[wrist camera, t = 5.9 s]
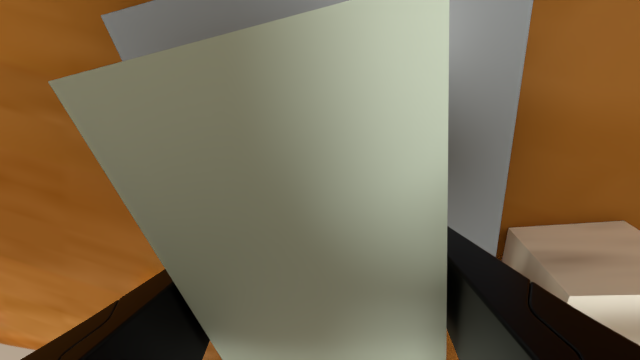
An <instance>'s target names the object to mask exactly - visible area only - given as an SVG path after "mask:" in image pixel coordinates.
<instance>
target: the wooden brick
mask: <svg viewBox="0 0 640 360" xmlns="http://www.w3.org/2000/svg"><path fill="white" fill-rule="evenodd" d="M48 82H49V84H50V86H51V87H52V89H53V90H54V92H55V94H56V95H57V97H58V98H59V100H60V102H61V103H62V105H63V106H64V108H65V110H66V111H67V113H68V114H69V116H70V117H71V119H72V121H73V122H74V124H75V125H76V127H77V129H78V130H79V132H80V133H81V135H82V137H83V138H84V140H85V141H86V143H87V145H88V146H89V148H90V149H91V151H92V153H93V154H94V156H95V157H96V159H97V161H98V162H99V164H100V165H101V167H102V168H103V170H104V172H105V173H106V175H107V176H108V178H109V180H110V181H111V183H112V184H113V186H114V188H115V189H116V191H117V192H118V194H119V196H120V197H121V199H122V200H123V202H124V204H125V205H126V207H127V208H128V210H129V212H130V213H131V215H132V216H133V218H134V220H135V221H136V223H137V224H138V226H139V227H140V229H141V231H142V232H143V234H144V235H145V237H146V239H147V240H148V242H149V243H150V245H151V247H152V248H153V250H154V251H155V253H156V255H157V256H158V258H159V259H160V261H161V263H162V264H163V266H164V267H165V269H166V271H167V272H168V274H169V275H170V277H171V278H172V280H173V282H174V283H175V285H176V286H177V288H178V290H179V291H180V293H181V294H182V296H183V298H184V299H185V301H186V302H187V304H188V306H189V307H190V309H191V310H192V312H193V314H194V315H195V317H196V318H197V320H198V322H199V323H200V325H201V326H202V328H203V330H204V331H205V333H206V334H207V336H208V337H209V339H210V341H211V342H212V344H213V345H214V347H215V349H216V350H217V352H218V353H219V355H220V357H221V358H222V360H446V320H447V211H448V103H449V0H349V1H345V2H341V3H338V4H334V5H330V6H327V7H323V8H319V9H316V10H312V11H308V12H304V13H301V14H297V15H293V16H290V17H286V18H282V19H278V20H275V21H271V22H267V23H264V24H260V25H256V26H252V27H249V28H245V29H241V30H238V31H234V32H230V33H226V34H223V35H219V36H215V37H212V38H208V39H204V40H201V41H197V42H193V43H189V44H186V45H182V46H178V47H175V48H171V49H167V50H163V51H160V52H156V53H152V54H149V55H145V56H141V57H137V58H134V59H130V60H126V61H123V62H119V63H115V64H111V65H108V66H104V67H100V68H97V69H93V70H89V71H85V72H82V73H78V74H74V75H71V76H67V77H63V78H60V79H56V80H52V81H48Z"/></svg>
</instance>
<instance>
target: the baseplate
mask: <svg viewBox="0 0 640 360" xmlns="http://www.w3.org/2000/svg"><path fill="white" fill-rule="evenodd" d="M345 1H349V0H154V1H150V2H147V3H143V4H140V5H136V6H133V7H129V8H126V9H122V10H119V11H115V12H112V13H108V14H104V15H101V17H102V19H103V22H104V24H105V26H106V28H107V30H108V32H109V34H110V36H111V38H112V40H113V42H114V45H115V47H116V49H117V51H118V53H119V55H120V57H121V59H122V61H126V60H130V59H134V58H137V57H141V56H145V55H149V54H152V53H156V52H160V51H163V50H167V49H171V48H175V47H178V46H182V45H186V44H189V43H193V42H197V41H201V40H204V39H208V38H212V37H215V36H219V35H223V34H226V33H230V32H234V31H238V30H241V29H245V28H249V27H252V26H256V25H260V24H264V23H267V22H271V21H275V20H278V19H282V18H286V17H290V16H293V15H297V14H301V13H304V12H308V11H312V10H316V9H319V8H323V7H327V6H330V5H334V4H338V3H341V2H345ZM532 5H533V0H449V103H448V211H447V226H449V227H450V228H452V229H453V230H455V231H456V232H458V233H459V234H461V235H462V236H464V237H465V238H467V239H468V240H470V241H472V242H473V243H475V244H476V245H478V246H479V247H481V248H482V249H484V250H485V251H487V252H488V253H490V254H491V255H493V256H495V257H496V252H497V245H498V238H499V231H500V224H501V217H502V210H503V204H504V197H505V190H506V183H507V176H508V169H509V163H510V156H511V149H512V142H513V135H514V128H515V121H516V115H517V108H518V101H519V94H520V87H521V80H522V74H523V67H524V60H525V53H526V46H527V39H528V32H529V26H530V19H531V12H532Z"/></svg>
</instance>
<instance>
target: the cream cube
mask: <svg viewBox="0 0 640 360" xmlns="http://www.w3.org/2000/svg"><path fill="white" fill-rule="evenodd" d="M502 262H504V263H505V264H507V265H508V266H510V267H511V268H513V269H514V270H516V271H518V272H519V273H521V274H522V275H524V276H525V277H527V278H528V279H530V281H531V282H535V283H536V284H538V285H539V286H541V287H542V288H544V289H545V290H547V291H548V292H550V293H552V294H553V295H555V296H556V297H558V298H560V299H561V300H563V301H564V302H566V303H568V304H569V305H571V306H572V307H574V308H576V309H577V310H579V311H581V312H582V313H584V314H586V315H588V316H589V317H591V318H593V319H594V320H596V321H598V322H600V323H601V324H603V325H605V326H606V327H608V328H610V329H612V330H613V331H615V332H617V333H619V334H621V335H622V336H624V337H626V338H628V339H629V340H631V341H633V342H635V343H636V344H638V345H640V230H638V229H636V228H635V227H633V226H631V225H630V224H628V223H627V222H625V221H611V222H595V223H579V224H563V225H547V226H531V227H515V228H508V233H507V238H506V243H505V248H504V253H503V258H502ZM531 282H530V283H531Z"/></svg>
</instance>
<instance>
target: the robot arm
mask: <svg viewBox="0 0 640 360" xmlns="http://www.w3.org/2000/svg"><path fill="white" fill-rule="evenodd" d="M530 282H531V281H530V279H528V278H527V277H525V276H524V275H522V274H521V273H519V272H518V271H516V270H514V269H513V268H511V267H510V266H508V265H507V264H505V263H504V262H502V261H501V260H499V259H498V258H496V257H495V256H493V255H491V254H490V253H488V252H487V251H485V250H484V249H482V248H481V247H479V246H478V245H476V244H475V243H473V242H472V241H470V240H468V239H467V238H465V237H464V236H462V235H461V234H459V233H458V232H456V231H455V230H453V229H452V228H450V227H449V226H447V320H446V328H447V330H448V333H449V335H450V338H451V340H452V343H453V345H454V348H455V350H456V353H457V355H458V358H459V360H640V345H638V344H636V343H635V342H633V341H631V340H629V339H628V338H626V337H624V336H622V335H621V334H619V333H617V332H615V331H613V330H612V329H610V328H608V327H606V326H605V325H603V324H601V323H600V322H598V321H596V320H594V319H593V318H591V317H589V316H588V315H586V314H584V313H582V312H581V311H579V310H577V309H576V308H574V307H572V306H571V305H569V304H568V303H566V302H564V301H563V300H561V299H560V298H558V297H556V296H555V295H553V294H552V293H550V292H548V291H547V290H545V289H544V288H542V287H541V286H539V285H538V284H536V283H535V282H531V283H530ZM209 341H210V339H209V337H208V336H207V334H206V333H205V331H204V330H203V328H202V326H201V325H200V323H199V322H198V320H197V318H196V317H195V315H194V314H193V312H192V310H191V309H190V307H189V306H188V304H187V302H186V301H185V299H184V298H183V296H182V294H181V293H180V291H179V290H178V288H177V286H176V285H175V283H174V282H173V280H172V278H171V277H170V275H169V274H168V272H167V271H166V269H165V270H163V271H162V272H160V273H159V274H157V275H155V276H154V277H152V278H151V279H149V280H148V281H146V282H145V283H143V284H142V285H140V286H139V287H137V288H135V289H134V290H132V291H131V292H129V293H128V294H126V295H125V296H123V297H122V298H120V300H117V301H115V302H114V303H112V304H111V305H109V306H108V307H106V308H105V309H103V310H101V311H100V312H98V313H97V314H95V315H94V316H92V317H90V318H89V319H87V320H86V321H84V322H82V323H81V324H79V325H78V326H76V327H74V328H73V329H71V330H69V331H68V332H66V333H64V334H63V335H61V336H59V337H58V338H56V339H54V340H53V341H51V342H49V343H48V344H46V345H44V346H43V347H41V348H39V349H38V350H36V351H34V352H33V353H31V354H29V355H28V356H26V357H24V358H22V359H21V360H202V359H203V356H204V354H205V351H206V348H207V346H208V343H209Z"/></svg>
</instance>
